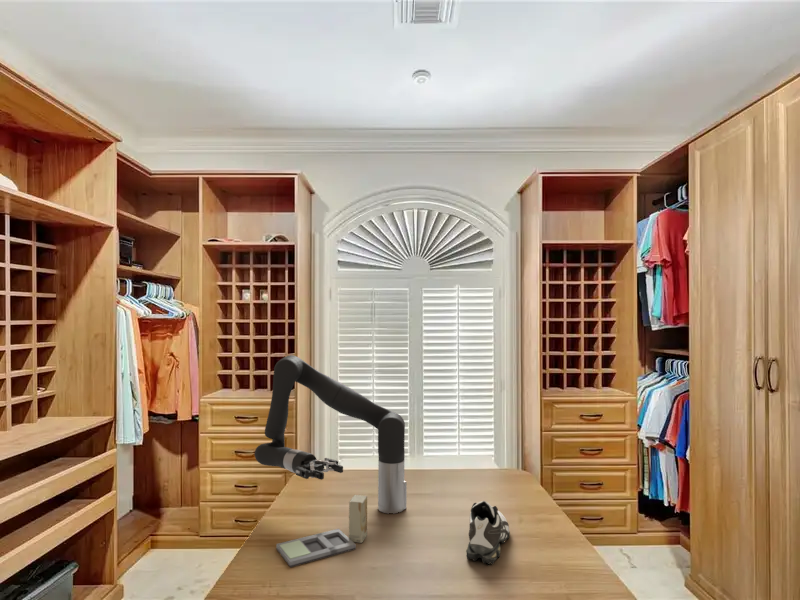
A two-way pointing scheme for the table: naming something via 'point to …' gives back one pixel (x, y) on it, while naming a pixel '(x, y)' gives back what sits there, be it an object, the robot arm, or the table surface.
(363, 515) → the skincare box
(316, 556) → the board
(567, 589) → the table surface
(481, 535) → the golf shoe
